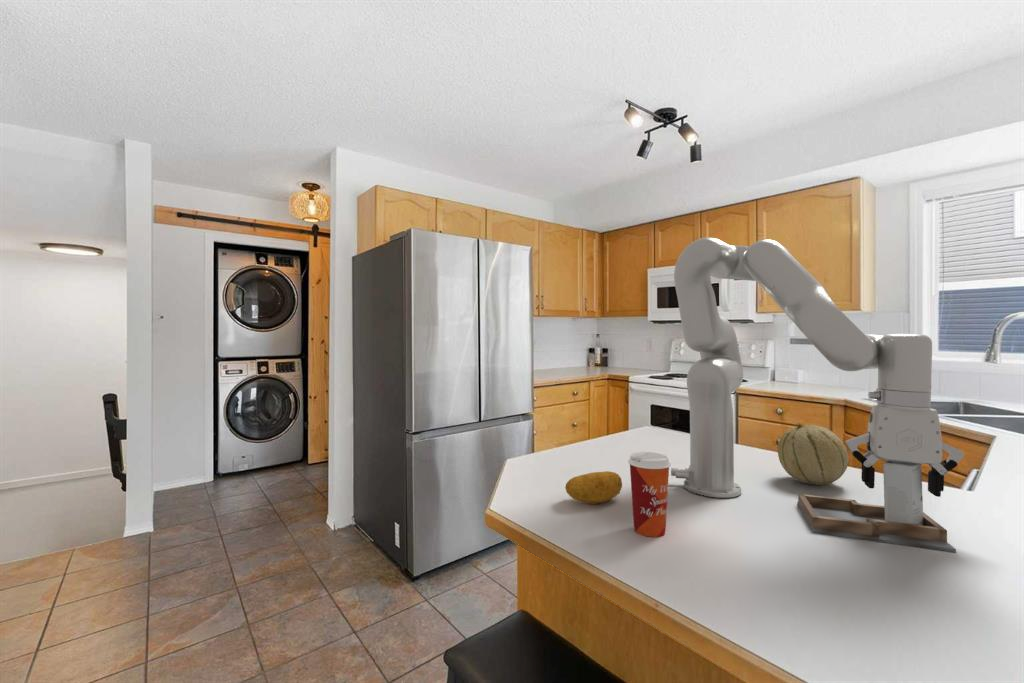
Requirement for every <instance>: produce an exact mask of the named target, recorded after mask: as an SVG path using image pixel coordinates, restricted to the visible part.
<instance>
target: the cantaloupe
mask: <svg viewBox="0 0 1024 683" xmlns="http://www.w3.org/2000/svg"><path fill="white" fill-rule="evenodd" d="M796 425H797V426H794V427H792V428H790V429H788V430H786V431H785V432H784V433H783V434H782V436H781V437H780V439H779V440H778V443H777V444H778V445H777V456H778V460H779V463H780V464H781V467H782V468H783V470H784V471H785V472H786V473H787V474H788V475H789V476H790V477H791V478H793V479H794V480H796V481H798V482H801V483H804V484H807V485H808V484H809V485H819V486H820V485H821V486H822V485H829V484H833V483H835V482H836V481H838V480H839V479H840V478H842V476H843V475H844V474H845V472H846V471H847V469H848V465H849V459H850V458H849V454H848V450H847V446H846V445H845V444H844V442H843V441H842V439H840V437H839V436H838V435H837V434H836V433H834V432H833V431H832V430H830V429H828V428H826V427H825V426H821V425H817V424H804V425H803V424H801V423H800V422H799V423H797V424H796Z"/></svg>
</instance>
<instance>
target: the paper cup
mask: <svg viewBox="0 0 1024 683" xmlns="http://www.w3.org/2000/svg"><path fill="white" fill-rule="evenodd" d="M627 462H628V464H629V471H630V487H631V489H630V490H631V502H632V504H631V505H632V517H633V518H632V519H633V527H634V528H633V529H634V531H635V532H636V533H637V534H638V535H641V536H643V537H648V538H659V537H663V536H664V535H665V534H666V528H667V527H666V526H667V525H666V524H667V513H668V512H667V511H668V492H669V475H670V474H669V473H670V467H671V466H672V465H671V462H670V459H669V457H668V456H667V455H666V454H662V453H657V452H651V451H637V452H632V453H631V454H630V456H629V459H628V460H627Z"/></svg>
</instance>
